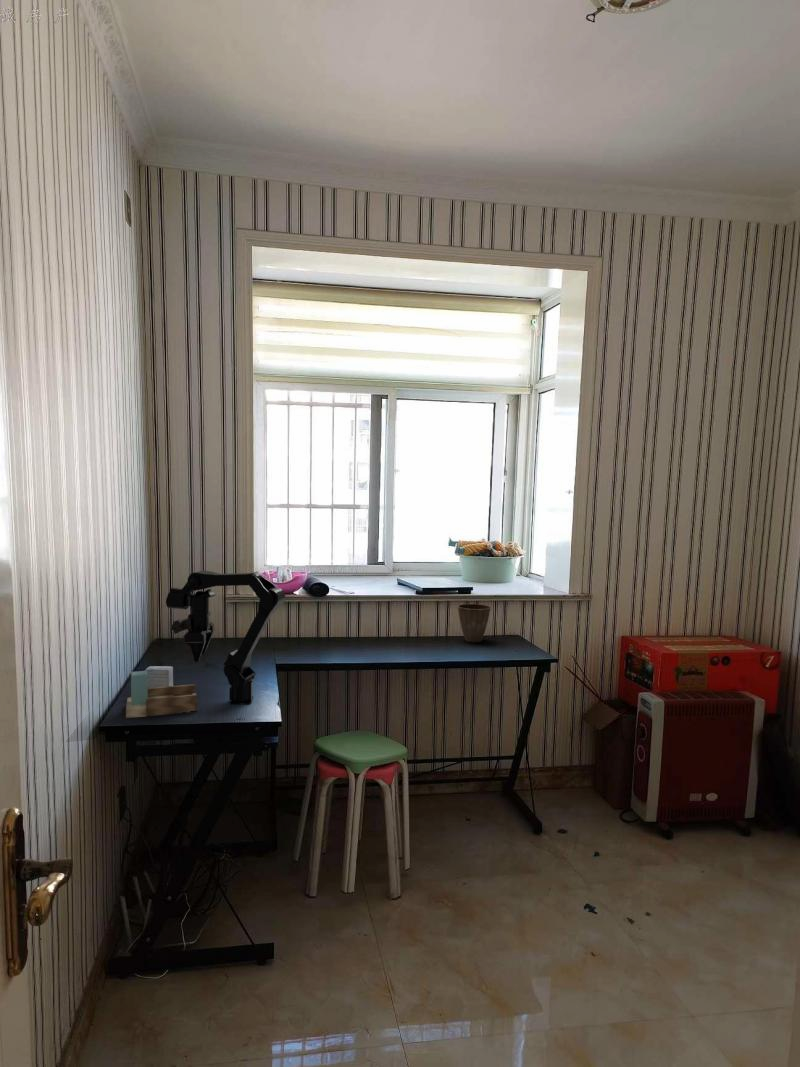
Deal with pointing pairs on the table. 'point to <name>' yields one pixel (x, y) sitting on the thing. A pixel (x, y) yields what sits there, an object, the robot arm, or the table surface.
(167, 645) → the table surface
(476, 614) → the plant pot
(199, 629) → the robot arm
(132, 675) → the teal block
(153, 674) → the medicine box
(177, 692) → the channel track
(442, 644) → the table surface
